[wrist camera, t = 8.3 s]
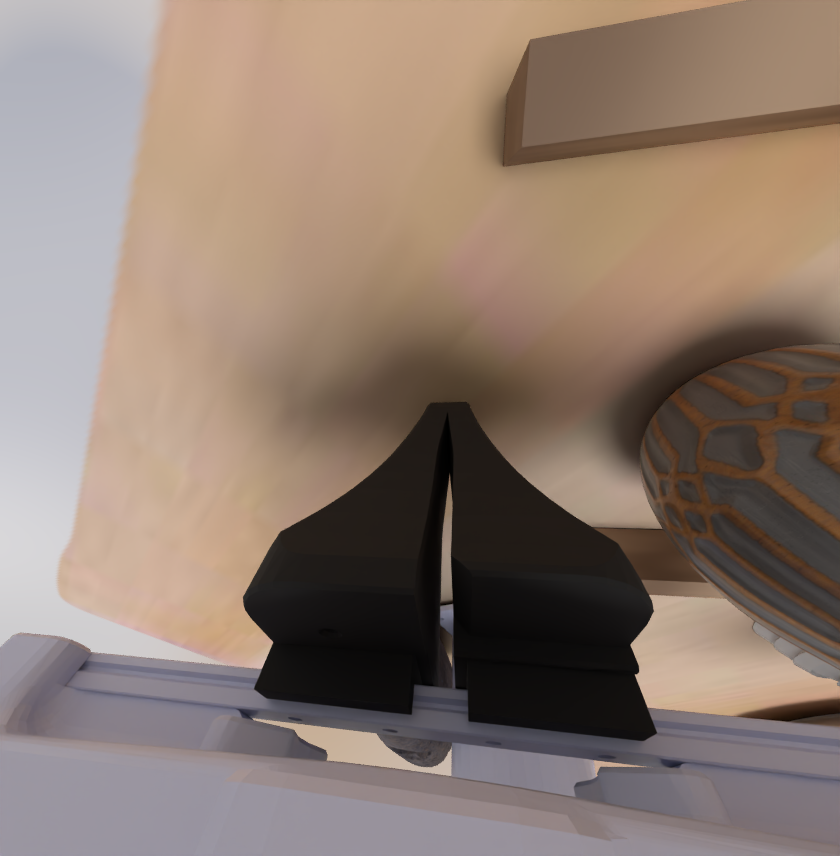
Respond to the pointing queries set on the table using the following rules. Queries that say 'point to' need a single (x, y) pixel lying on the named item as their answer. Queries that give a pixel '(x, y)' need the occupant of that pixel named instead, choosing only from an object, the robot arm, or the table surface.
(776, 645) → the chalice
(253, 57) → the table surface
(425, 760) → the perforated stone tool
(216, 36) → the table surface
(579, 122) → the tray
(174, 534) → the table surface
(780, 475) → the vase
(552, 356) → the table surface
